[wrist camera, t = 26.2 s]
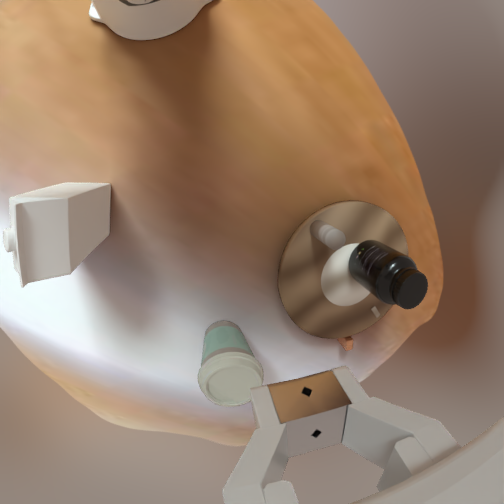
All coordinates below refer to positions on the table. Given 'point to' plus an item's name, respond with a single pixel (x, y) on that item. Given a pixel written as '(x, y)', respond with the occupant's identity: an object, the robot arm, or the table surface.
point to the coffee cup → (228, 366)
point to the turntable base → (346, 342)
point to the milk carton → (56, 228)
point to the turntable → (334, 269)
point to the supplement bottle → (387, 274)
